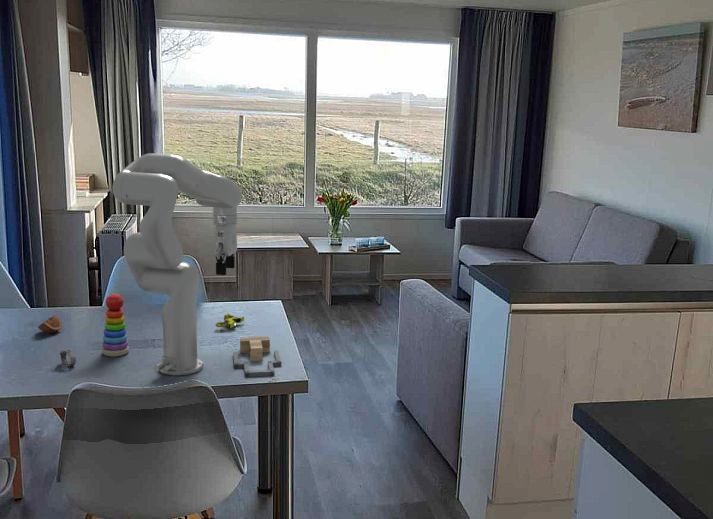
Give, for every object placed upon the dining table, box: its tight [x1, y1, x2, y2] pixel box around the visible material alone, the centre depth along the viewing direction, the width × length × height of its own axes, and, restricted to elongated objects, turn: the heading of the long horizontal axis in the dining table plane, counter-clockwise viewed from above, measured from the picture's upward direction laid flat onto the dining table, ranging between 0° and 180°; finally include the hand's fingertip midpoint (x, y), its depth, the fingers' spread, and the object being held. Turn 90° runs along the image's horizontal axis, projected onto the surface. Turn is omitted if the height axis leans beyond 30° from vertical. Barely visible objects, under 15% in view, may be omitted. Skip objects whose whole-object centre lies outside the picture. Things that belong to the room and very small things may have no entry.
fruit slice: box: [37, 314, 63, 334], centre depth 227 cm, size 8×7×5 cm
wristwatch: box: [59, 347, 77, 367], centre depth 200 cm, size 4×6×5 cm, turn 51°
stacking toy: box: [101, 293, 130, 358], centre depth 209 cm, size 8×8×19 cm
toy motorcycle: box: [215, 312, 245, 330], centre depth 239 cm, size 12×4×7 cm
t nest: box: [232, 349, 282, 378], centre depth 205 cm, size 17×14×1 cm
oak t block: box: [239, 335, 271, 362], centre depth 213 cm, size 10×9×4 cm
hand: (225, 271), depth 225 cm, fingers open, 9 cm apart
